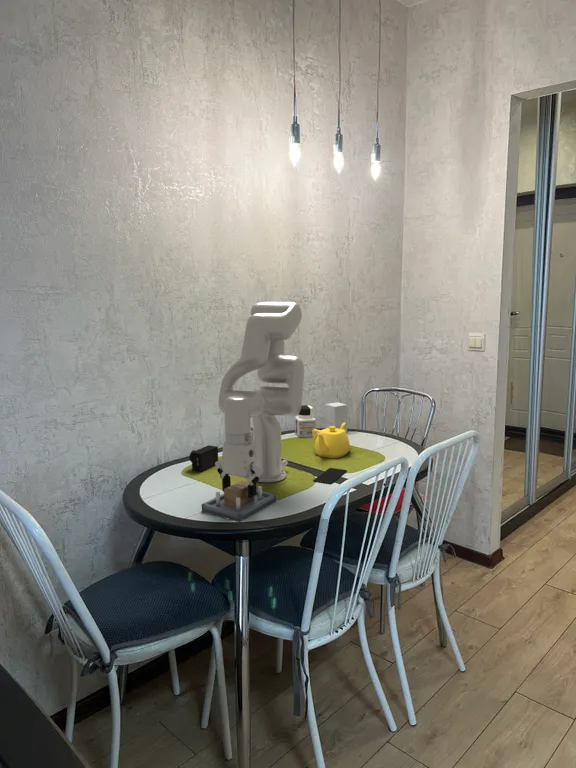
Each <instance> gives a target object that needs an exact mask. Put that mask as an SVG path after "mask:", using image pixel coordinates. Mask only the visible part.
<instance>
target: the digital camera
mask: <svg viewBox="0 0 576 768" xmlns="http://www.w3.org/2000/svg"><path fill="white" fill-rule="evenodd" d="M189 461H190V462H191V468H192V471H193V472H196V473H197V472H199V473H203V471H204V472H205V471H207V470H210V469H211V467H212V468H214V467H216V465H215V462H217V461H219V447H218V446H216V445H209V444H208V445H205V446H203V447H201V448H199V449H196V450H195V449H193V450H192V451H191V452H190V453H189ZM213 466H214V467H213ZM209 468H210V469H209Z"/></svg>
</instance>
